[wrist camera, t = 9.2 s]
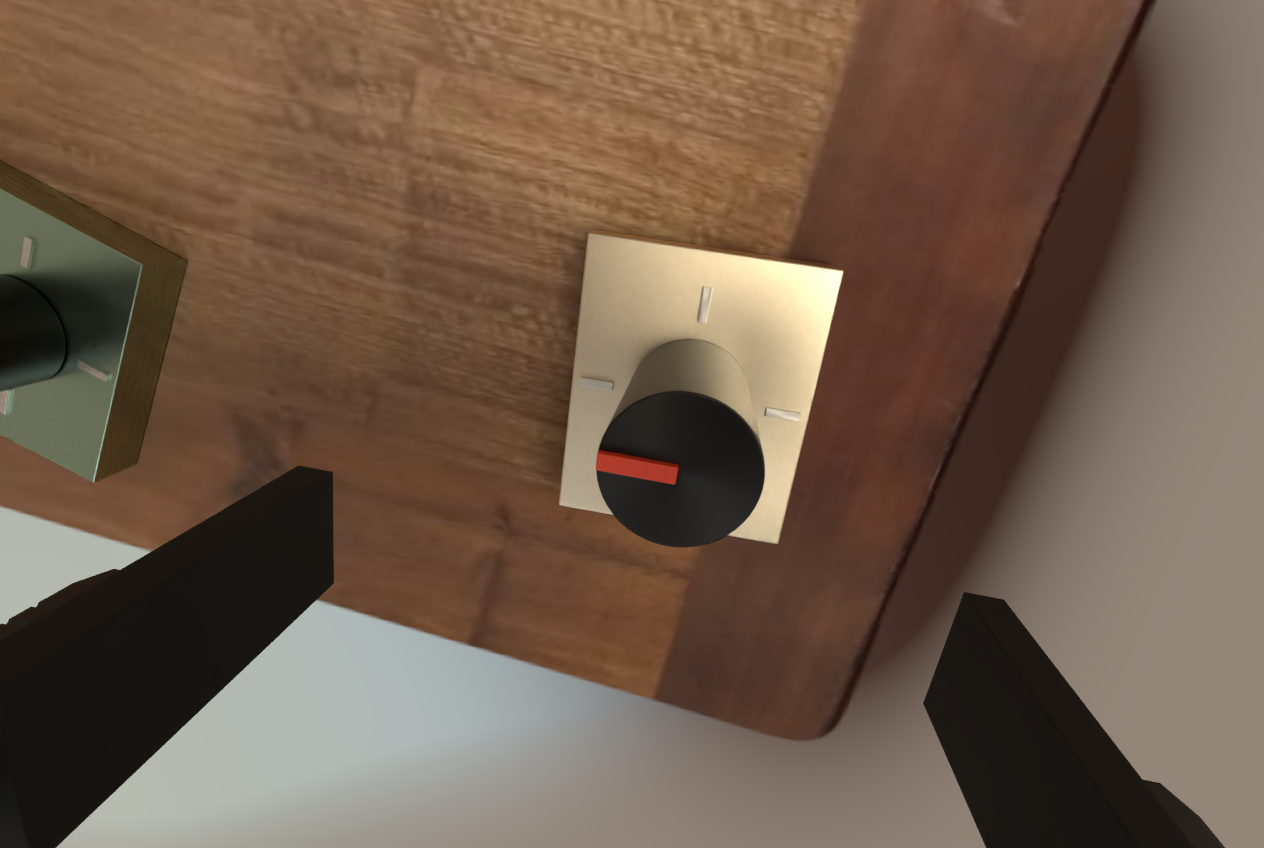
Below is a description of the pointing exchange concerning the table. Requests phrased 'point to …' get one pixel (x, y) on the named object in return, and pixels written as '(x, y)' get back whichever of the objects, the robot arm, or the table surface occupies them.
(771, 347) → the front panel
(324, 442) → the table surface
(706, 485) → the front knob
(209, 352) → the table surface
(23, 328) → the back knob
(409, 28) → the table surface
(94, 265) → the back panel
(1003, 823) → the robot arm
